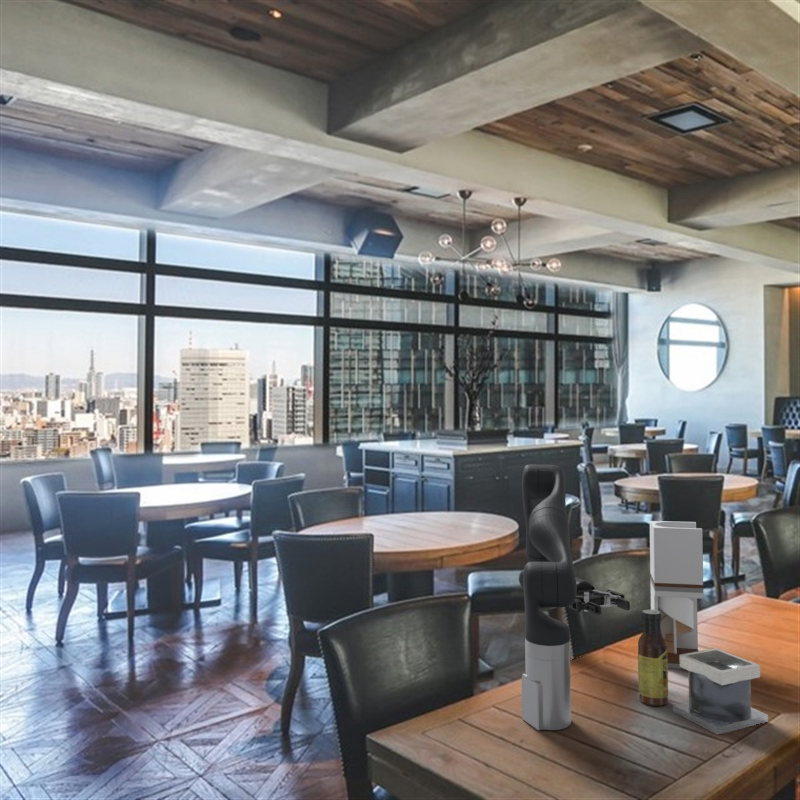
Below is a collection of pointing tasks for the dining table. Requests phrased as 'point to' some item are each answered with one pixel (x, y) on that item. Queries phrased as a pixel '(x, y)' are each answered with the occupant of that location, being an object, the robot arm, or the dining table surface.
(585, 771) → the dining table surface
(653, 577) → the white tower
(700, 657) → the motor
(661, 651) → the sauce bottle
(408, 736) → the dining table surface
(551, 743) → the dining table surface
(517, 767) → the dining table surface
